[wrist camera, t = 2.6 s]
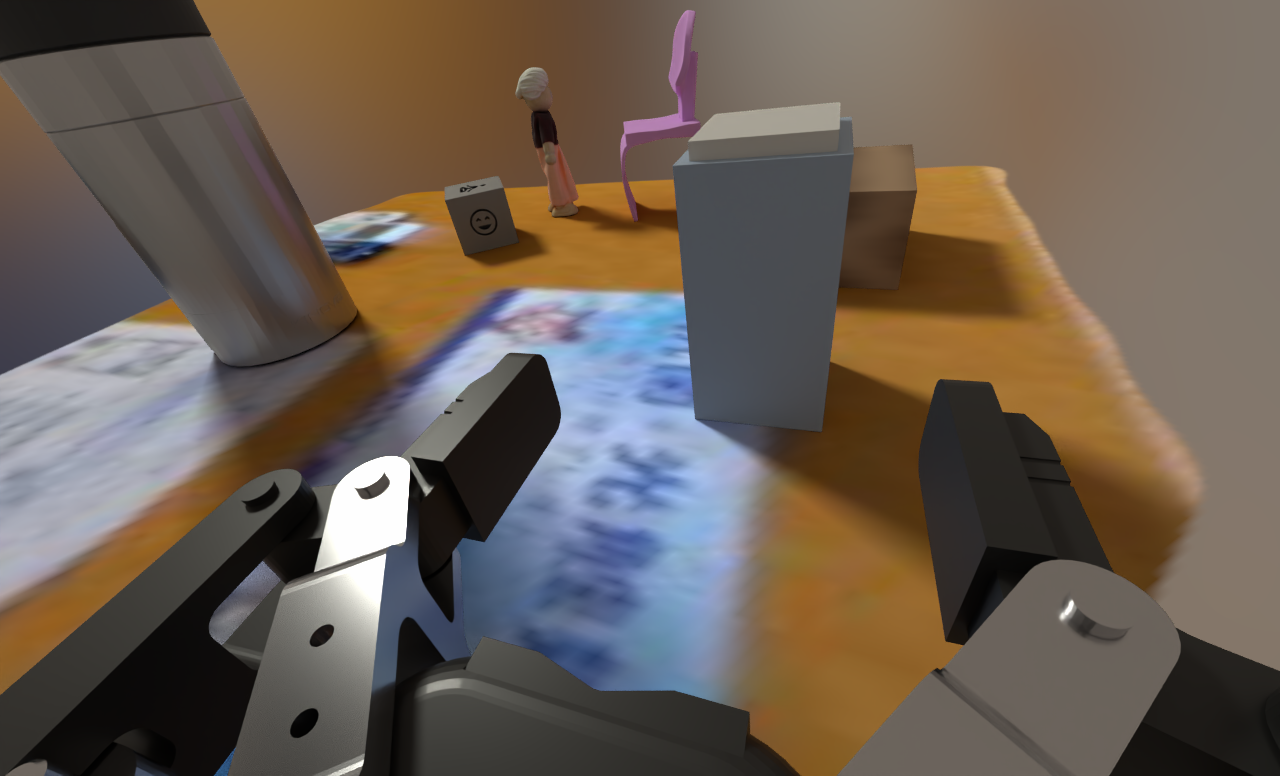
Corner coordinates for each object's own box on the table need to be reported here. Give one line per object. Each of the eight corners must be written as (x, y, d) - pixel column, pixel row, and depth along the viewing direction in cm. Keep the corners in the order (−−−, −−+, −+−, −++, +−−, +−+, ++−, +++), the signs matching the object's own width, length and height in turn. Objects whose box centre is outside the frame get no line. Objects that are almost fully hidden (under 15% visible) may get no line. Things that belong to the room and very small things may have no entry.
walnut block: (733, 285, 34) (730, 194, 30) (761, 230, 41) (762, 152, 37) (897, 292, 30) (917, 190, 26) (896, 231, 37) (912, 144, 33)
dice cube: (463, 239, 49) (444, 187, 46) (513, 227, 50) (498, 175, 47) (465, 256, 45) (445, 200, 42) (519, 243, 46) (503, 187, 43)
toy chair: (626, 200, 52) (601, 24, 43) (710, 187, 52) (701, 7, 43) (629, 226, 45) (599, 25, 36) (724, 212, 45) (718, 5, 36)
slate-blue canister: (695, 418, 23) (670, 145, 16) (717, 353, 27) (705, 113, 20) (821, 431, 21) (856, 131, 14) (825, 359, 25) (853, 98, 18)
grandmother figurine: (592, 212, 50) (564, 64, 42) (557, 222, 49) (522, 72, 41) (567, 197, 56) (538, 64, 48) (535, 206, 55) (500, 71, 47)
